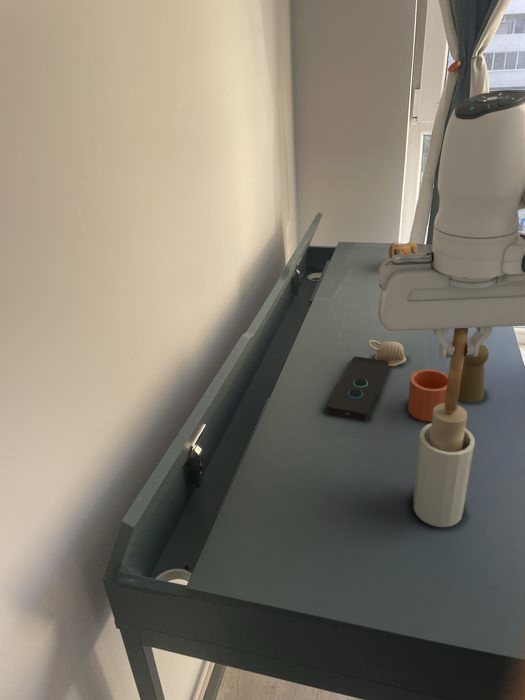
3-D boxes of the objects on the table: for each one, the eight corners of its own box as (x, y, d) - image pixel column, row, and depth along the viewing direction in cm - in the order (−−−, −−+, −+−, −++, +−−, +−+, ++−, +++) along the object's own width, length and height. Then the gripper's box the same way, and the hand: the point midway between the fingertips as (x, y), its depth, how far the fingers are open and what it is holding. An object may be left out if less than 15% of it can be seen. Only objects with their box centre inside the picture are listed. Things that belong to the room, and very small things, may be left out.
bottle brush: (456, 441, 77) (476, 304, 66) (465, 462, 73) (487, 320, 62) (425, 442, 77) (440, 306, 66) (432, 462, 73) (449, 322, 62)
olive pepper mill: (474, 383, 108) (481, 336, 103) (490, 399, 103) (498, 351, 98) (446, 387, 108) (452, 340, 102) (461, 404, 103) (468, 356, 97)
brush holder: (442, 398, 105) (446, 368, 101) (452, 421, 98) (456, 390, 95) (404, 399, 105) (407, 369, 102) (412, 422, 99) (414, 391, 96)
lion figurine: (398, 274, 160) (399, 246, 156) (383, 270, 164) (384, 242, 159) (423, 260, 169) (425, 232, 165) (408, 256, 173) (410, 229, 168)
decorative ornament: (405, 367, 115) (407, 346, 113) (367, 364, 117) (367, 344, 115) (406, 358, 119) (407, 337, 116) (368, 355, 121) (369, 335, 118)
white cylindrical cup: (455, 491, 83) (466, 420, 76) (468, 527, 77) (481, 454, 70) (409, 491, 84) (415, 422, 77) (418, 527, 78) (426, 455, 71)
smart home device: (325, 405, 103) (353, 355, 118) (325, 412, 103) (353, 361, 119) (367, 413, 99) (390, 360, 115) (367, 421, 100) (389, 367, 116)
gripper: (383, 265, 58) (378, 371, 65) (576, 256, 57) (550, 365, 63) (375, 246, 64) (372, 345, 71) (551, 237, 62) (530, 339, 69)
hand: (458, 355), depth 67 cm, fingers closed on bottle brush
